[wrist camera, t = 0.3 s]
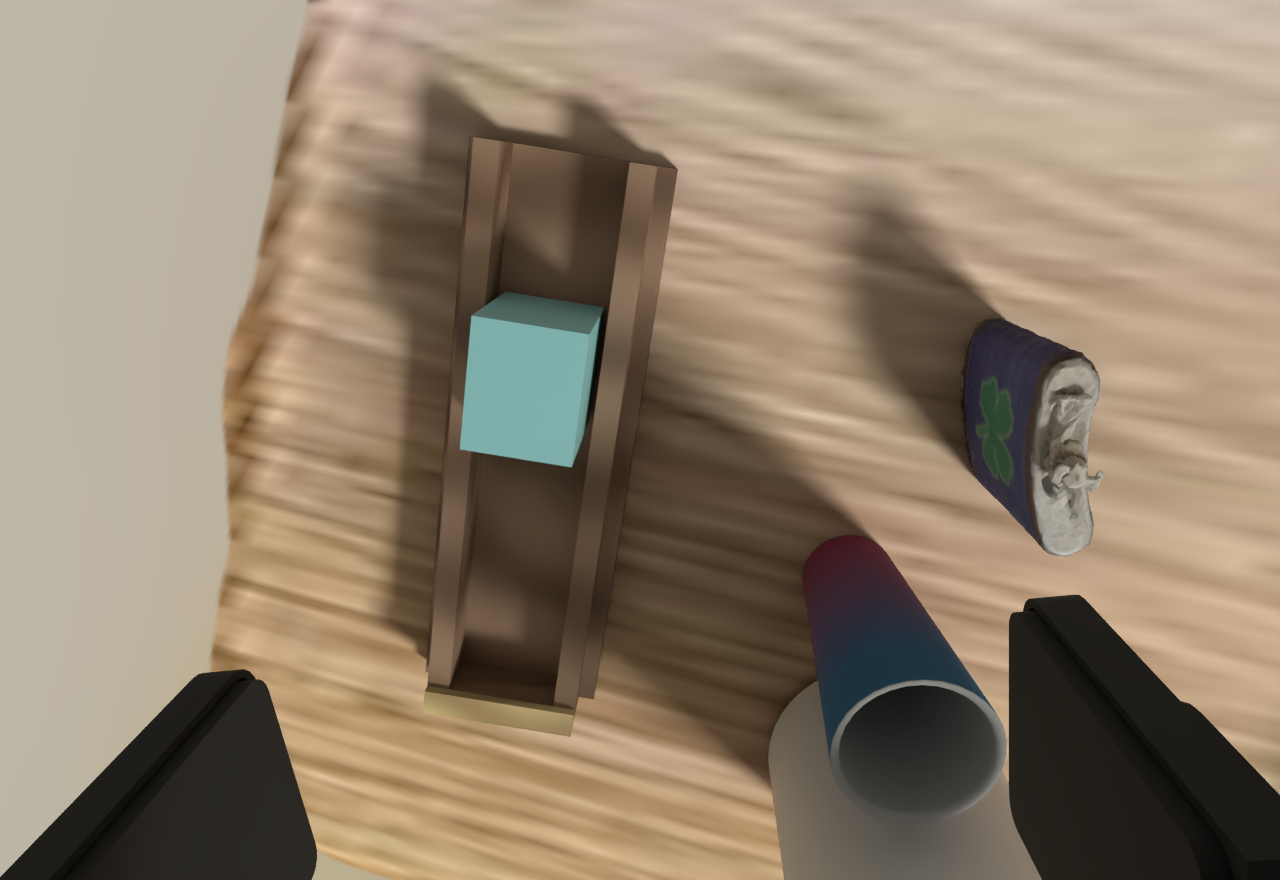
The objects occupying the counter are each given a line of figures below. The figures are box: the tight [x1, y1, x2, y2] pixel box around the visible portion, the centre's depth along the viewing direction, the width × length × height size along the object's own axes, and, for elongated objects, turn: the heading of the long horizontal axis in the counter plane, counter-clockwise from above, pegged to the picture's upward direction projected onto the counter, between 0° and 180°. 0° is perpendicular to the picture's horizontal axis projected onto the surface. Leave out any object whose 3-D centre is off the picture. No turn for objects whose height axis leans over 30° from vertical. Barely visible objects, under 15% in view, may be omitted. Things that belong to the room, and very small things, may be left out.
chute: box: [423, 136, 678, 737], centre depth 43 cm, size 30×10×4 cm, turn 171°
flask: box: [961, 317, 1104, 557], centre depth 38 cm, size 9×3×11 cm, turn 8°
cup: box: [803, 536, 1006, 824], centre depth 40 cm, size 7×7×15 cm
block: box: [460, 292, 605, 467], centre depth 39 cm, size 6×5×7 cm
